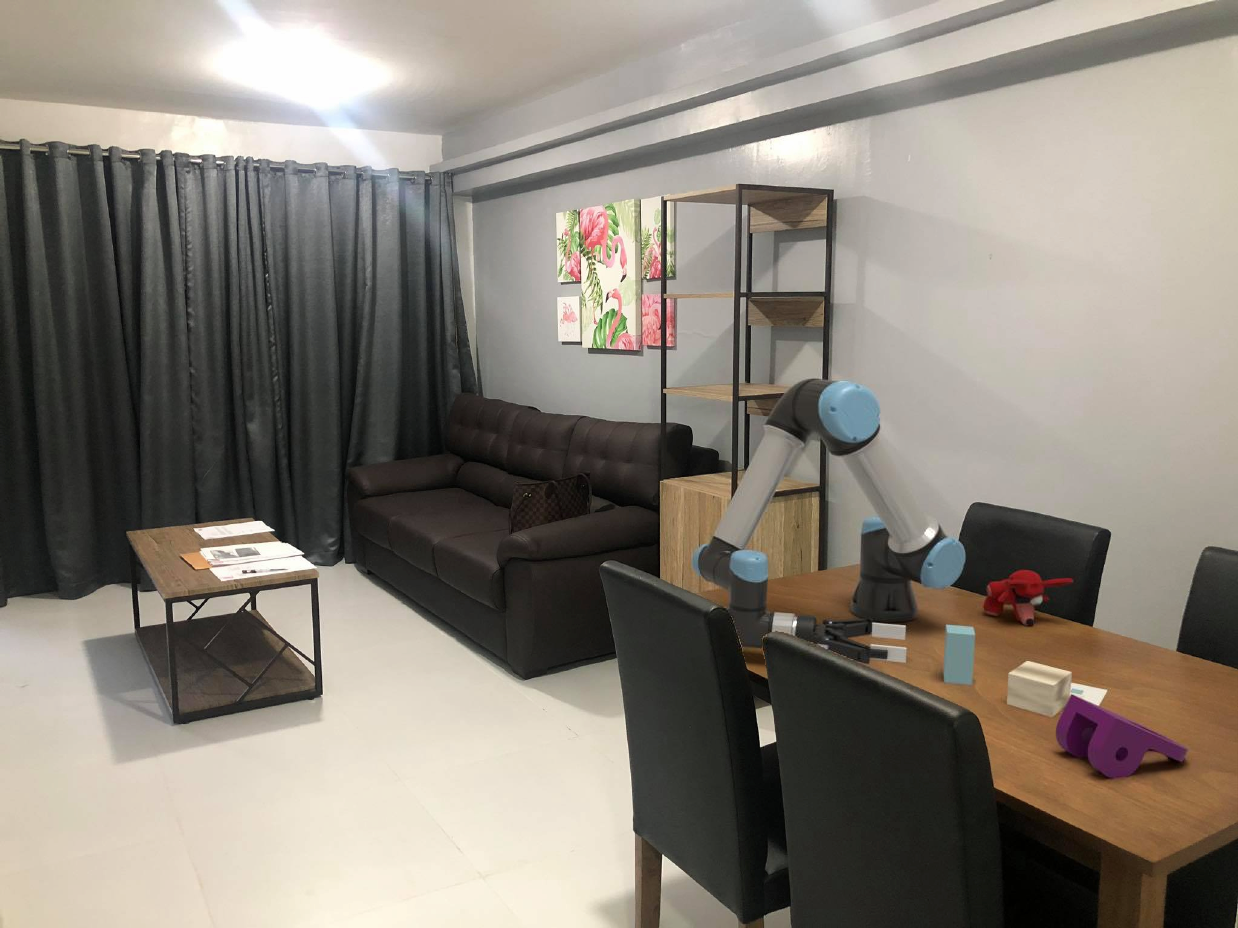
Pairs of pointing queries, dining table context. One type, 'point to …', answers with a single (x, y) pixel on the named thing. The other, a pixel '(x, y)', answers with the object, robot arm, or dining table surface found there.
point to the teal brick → (959, 654)
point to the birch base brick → (1039, 688)
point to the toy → (1019, 594)
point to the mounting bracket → (1109, 738)
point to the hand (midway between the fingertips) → (906, 643)
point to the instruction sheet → (1088, 693)
